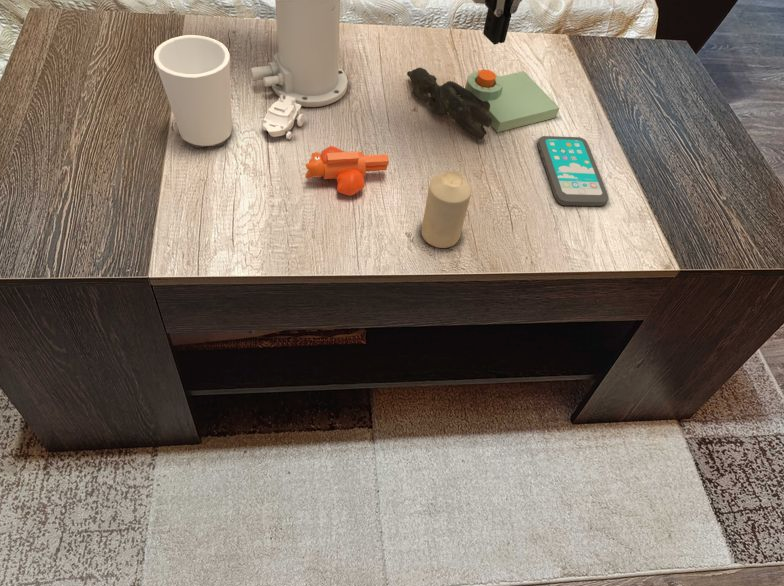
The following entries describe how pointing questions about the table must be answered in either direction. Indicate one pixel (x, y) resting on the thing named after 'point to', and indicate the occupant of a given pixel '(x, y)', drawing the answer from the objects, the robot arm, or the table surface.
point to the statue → (452, 102)
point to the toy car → (282, 117)
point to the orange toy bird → (345, 167)
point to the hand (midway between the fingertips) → (493, 38)
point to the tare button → (486, 78)
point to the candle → (445, 209)
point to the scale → (514, 100)
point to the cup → (197, 87)
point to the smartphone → (572, 171)
